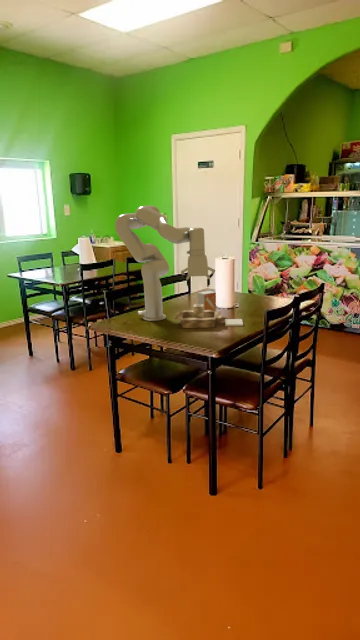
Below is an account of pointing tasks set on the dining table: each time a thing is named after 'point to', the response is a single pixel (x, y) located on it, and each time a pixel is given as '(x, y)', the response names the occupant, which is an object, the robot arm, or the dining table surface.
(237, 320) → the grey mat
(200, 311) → the block
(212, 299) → the small box
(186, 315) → the brown wooden tray
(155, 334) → the dining table surface
